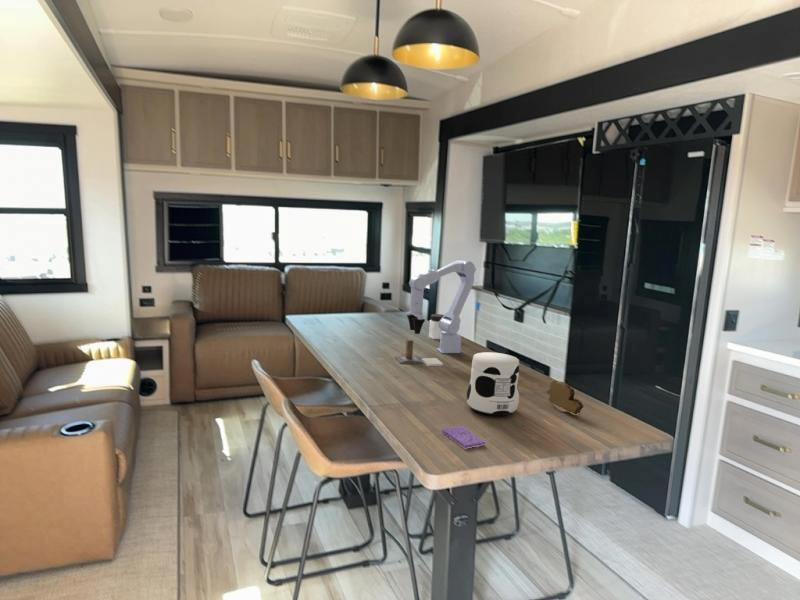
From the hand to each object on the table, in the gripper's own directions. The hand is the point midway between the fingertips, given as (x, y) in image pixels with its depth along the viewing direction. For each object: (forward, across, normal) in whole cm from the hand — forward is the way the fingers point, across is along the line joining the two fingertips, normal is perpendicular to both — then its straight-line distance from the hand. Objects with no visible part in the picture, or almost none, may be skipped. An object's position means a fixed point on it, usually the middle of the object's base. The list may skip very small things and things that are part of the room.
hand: (414, 331), depth 246 cm
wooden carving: (+11, +76, +32) cm, 83 cm away
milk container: (+10, +72, +7) cm, 73 cm away
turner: (+10, +13, -6) cm, 17 cm away
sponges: (+11, +94, -12) cm, 95 cm away
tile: (+10, +11, +4) cm, 15 cm away
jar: (+11, -31, +22) cm, 40 cm away
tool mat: (+10, +11, -6) cm, 16 cm away
